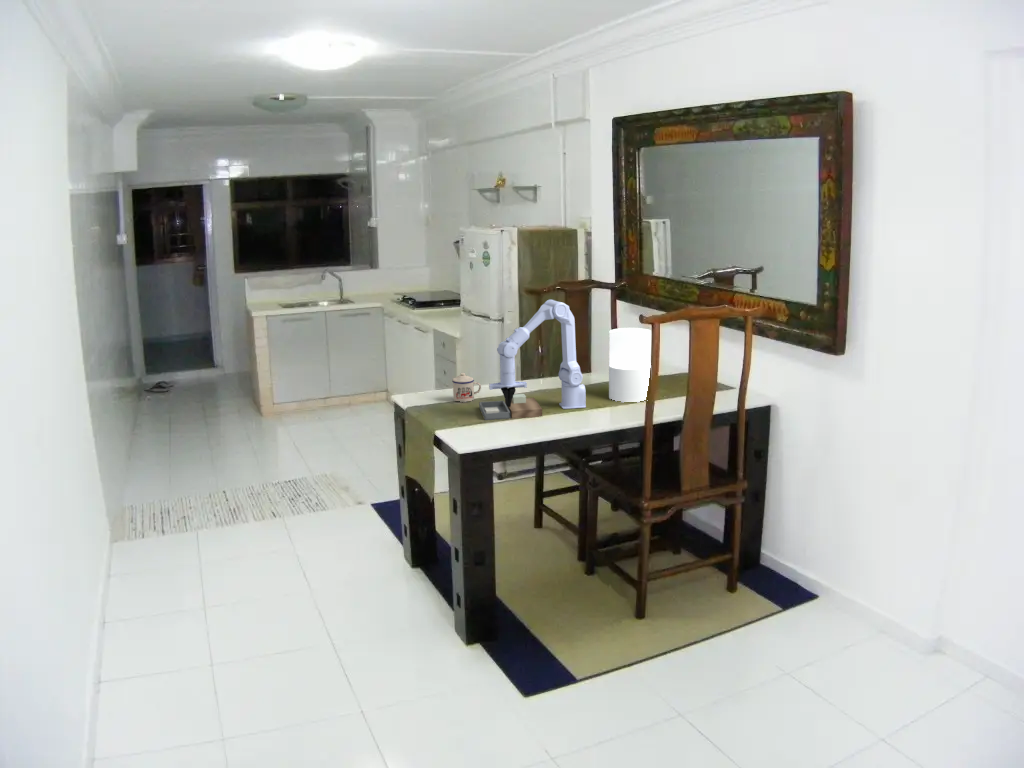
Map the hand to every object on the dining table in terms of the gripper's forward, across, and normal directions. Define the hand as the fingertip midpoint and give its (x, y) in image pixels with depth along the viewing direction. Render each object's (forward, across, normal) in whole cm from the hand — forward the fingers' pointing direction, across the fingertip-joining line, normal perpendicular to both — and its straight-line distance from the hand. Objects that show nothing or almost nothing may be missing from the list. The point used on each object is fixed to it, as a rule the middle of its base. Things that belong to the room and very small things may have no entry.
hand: (508, 406), depth 329 cm
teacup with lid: (+4, -14, +28) cm, 31 cm away
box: (+4, -5, +4) cm, 8 cm away
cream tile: (+1, -7, 0) cm, 7 cm away
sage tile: (+1, +6, +8) cm, 10 cm away
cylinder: (+4, +54, +16) cm, 56 cm away
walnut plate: (+4, +6, +4) cm, 9 cm away
